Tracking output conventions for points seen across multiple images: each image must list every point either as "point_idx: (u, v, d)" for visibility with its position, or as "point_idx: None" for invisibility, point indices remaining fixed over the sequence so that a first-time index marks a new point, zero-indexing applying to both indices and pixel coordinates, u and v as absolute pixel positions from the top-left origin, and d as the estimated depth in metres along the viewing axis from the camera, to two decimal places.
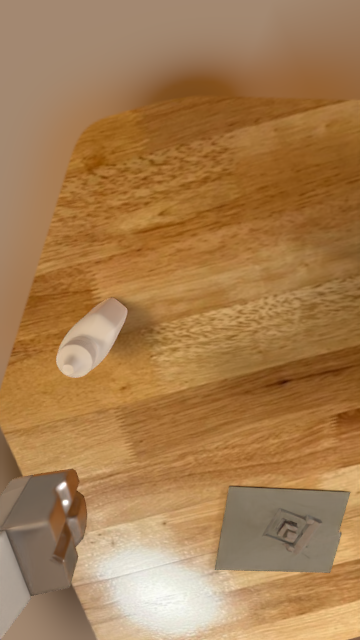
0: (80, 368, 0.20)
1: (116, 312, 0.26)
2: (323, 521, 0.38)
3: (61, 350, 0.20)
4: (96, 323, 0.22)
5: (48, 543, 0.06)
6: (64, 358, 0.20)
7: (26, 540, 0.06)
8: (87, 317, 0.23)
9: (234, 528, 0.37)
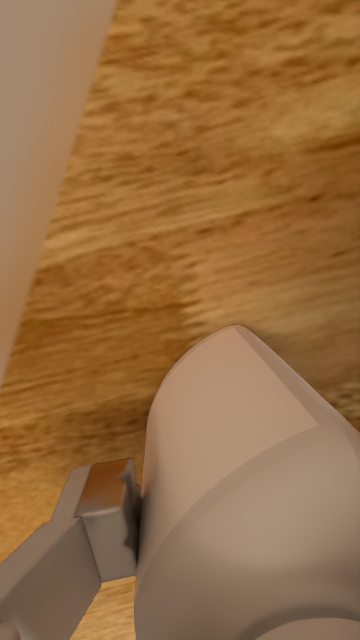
0: None
1: (311, 387, 0.08)
2: None
3: None
4: None
5: (120, 530, 0.06)
6: None
7: (100, 526, 0.06)
8: (301, 463, 0.05)
9: None
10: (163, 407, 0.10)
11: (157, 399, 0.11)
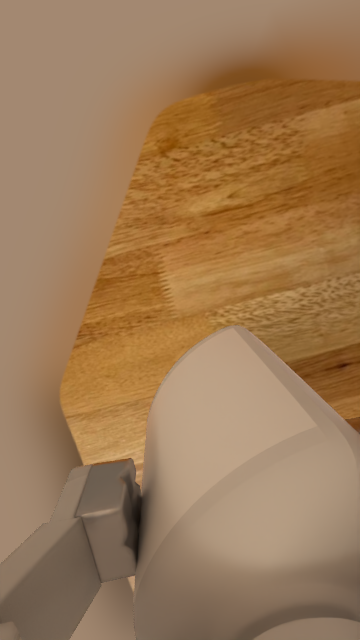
0: None
1: (311, 388, 0.08)
2: None
3: None
4: None
5: (120, 530, 0.06)
6: None
7: (100, 526, 0.06)
8: (300, 463, 0.05)
9: None
10: (163, 407, 0.10)
11: (157, 399, 0.11)
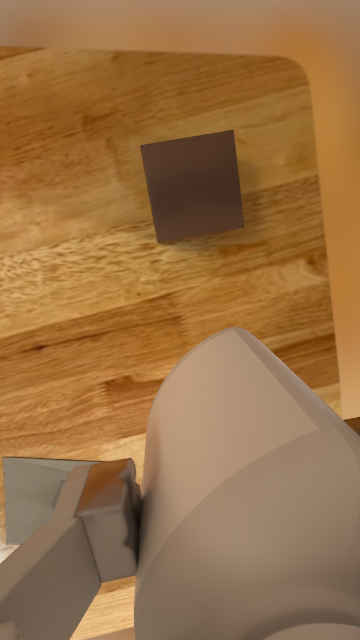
0: None
1: (311, 390, 0.08)
2: None
3: None
4: None
5: (120, 530, 0.06)
6: None
7: (100, 526, 0.06)
8: (301, 467, 0.05)
9: (18, 501, 0.37)
10: (163, 409, 0.10)
11: (157, 401, 0.11)
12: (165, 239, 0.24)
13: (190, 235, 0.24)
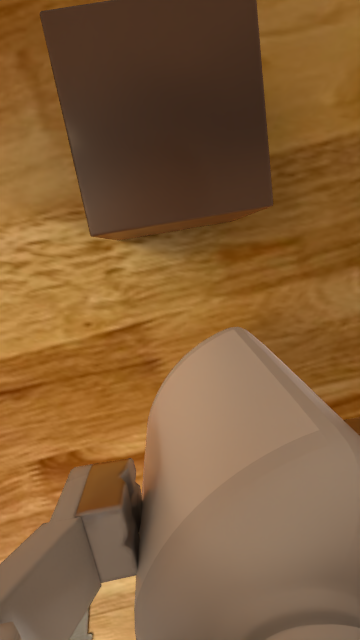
0: None
1: None
2: None
3: None
4: None
5: (121, 530, 0.06)
6: None
7: (100, 526, 0.06)
8: (302, 468, 0.05)
9: None
10: (163, 409, 0.10)
11: (157, 401, 0.11)
12: (107, 230, 0.11)
13: (160, 222, 0.11)
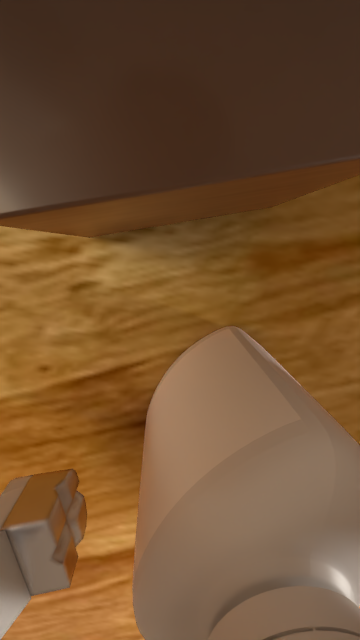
0: None
1: (300, 385, 0.08)
2: None
3: None
4: (344, 493, 0.05)
5: (48, 543, 0.06)
6: None
7: (26, 540, 0.06)
8: (284, 452, 0.05)
9: None
10: (161, 404, 0.10)
11: (155, 397, 0.12)
12: (14, 207, 0.04)
13: (151, 186, 0.04)
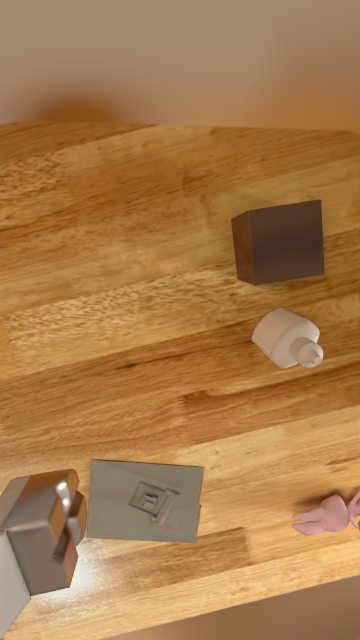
0: None
1: None
2: (182, 494, 0.42)
3: (303, 347, 0.27)
4: (310, 327, 0.29)
5: (48, 543, 0.06)
6: (307, 353, 0.27)
7: (26, 540, 0.06)
8: (300, 323, 0.30)
9: (101, 499, 0.42)
10: (262, 329, 0.35)
11: (257, 329, 0.36)
12: (261, 283, 0.29)
13: (281, 280, 0.29)
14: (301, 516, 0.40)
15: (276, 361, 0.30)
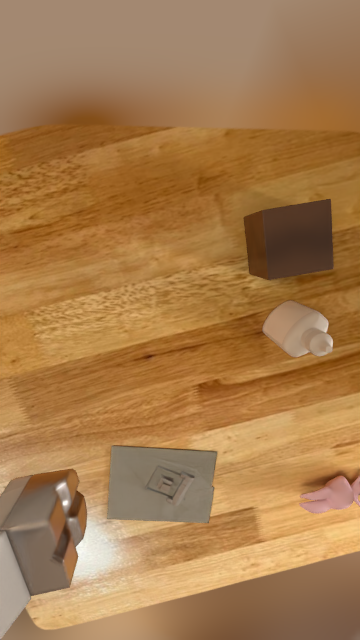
0: None
1: None
2: (197, 477, 0.45)
3: (315, 337, 0.29)
4: (320, 319, 0.32)
5: (48, 543, 0.06)
6: (319, 342, 0.29)
7: (26, 540, 0.06)
8: (310, 314, 0.32)
9: (120, 482, 0.44)
10: (273, 320, 0.37)
11: (267, 321, 0.39)
12: (274, 277, 0.31)
13: (293, 274, 0.31)
14: (309, 495, 0.43)
15: (288, 350, 0.33)
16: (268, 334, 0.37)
